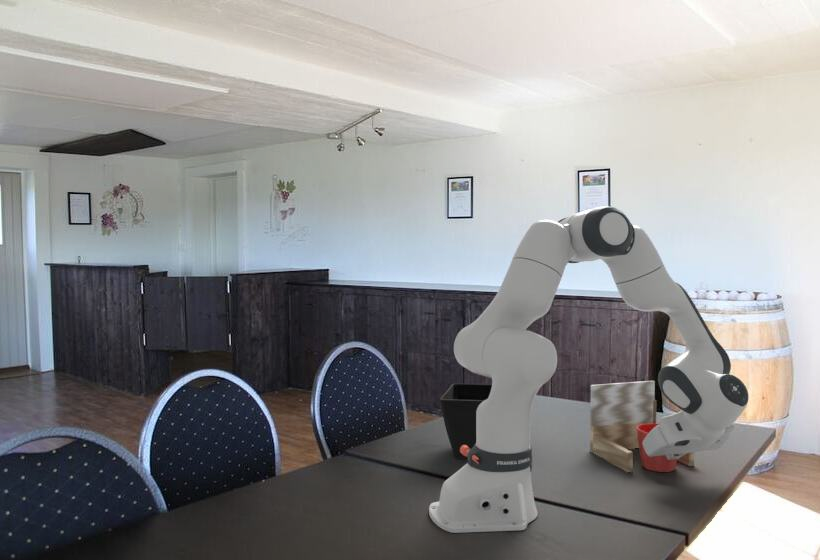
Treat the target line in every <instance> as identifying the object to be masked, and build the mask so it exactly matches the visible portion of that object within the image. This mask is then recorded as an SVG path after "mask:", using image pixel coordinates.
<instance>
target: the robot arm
mask: <svg viewBox="0 0 820 560" xmlns="http://www.w3.org/2000/svg"><path fill="white" fill-rule="evenodd" d="M597 260H601V261H603V262H604V263H605V264H606V265H607V267H608V268H609V270H610V273H611V276H612V279H613V281H614V284H615V286H616V288H617V290H618V293H619V295H620V297H621V298H622V300H623V302H624V303H625V304H626V305H627V306H629V307H630V308H632V309H634V310H637V311H640V312H647V313H648V312H662V313H664V314H666V315H668V317H669V318H670V319H671V320H672V322H673V324H674V326H675V328H676V329H677V331H678V333H679V334H680V336H681V338H682V339H683V341H684V343H685V344H684V345H685V349H684V352H683V353H681V354H680V355H678V356H677V357H676V358H673V359H672V360H671V361H669V363H667V364H666V365H665V366H663V367H662V368H661V369H660V370H659V372H658V374H657V375H658V376H657V381H658V382H657V383H658V386H659V389H660V391H661V393H662V394H663V396H664V397H665V398H666V399H667V400H668V401H669V402H670V403H671V404H673V405H674V406H675V407H677V408H679V409H680V410H681V411H678V412H677V413H674V414H669V415H666V416H663V417H660V419H659V420H658V421H657V422H658V424H659V425H658V426H656V427H655V428H653V429H652V430H651V431H650V432H649V434H648V435H647V436H646V437H645V439H644V440H643V442H642V444H643V447H644V450H645V452H646V453H647V455H648V456H650V457H652V456H661V455H666V457H667V459H668V460H671V459H679V458H680V457H681V456H683V455H685V454H687V453H691V452H694V453H699V452H708V451H717V450H719V449H721V448H723V447H724V446H725V445H726V444H727V442H728V441H729V440H730V438H731V433H732V432H733V430H735V425H734V423H735V422H736V421H737V420H738V419H739V418H740V416H741V415H742V414H743V413H744V411H745V410H746V407H747V406H748V402H749V391H748V388H747V387H746V385H745V383H744V382H743V381H742V380H741V379H740V378H739V377H737V376H736V375H733V374H730V373H731V368H732V365H731V359H730V357H729V354H728V353H727V351H726V350H725V349H724V347H723V346H722V345H721V344H720V343H719V342H718V340H717V339H716V338H715V336H714V335H713V333H712V332H711V330H710V329H709V327H708V325H707V324H706V322H705V320H704V317H702V315H701V314H700V312H699V310H698V308H697V307H696V304H695V303H694V301H693V300H692V298H691V297H690V295H689V294H688V292H687V291H686V289H685V288H684V287H683V286H682V285H681V284H680V283H678V282H676V281H675V280H673V278H672V277H671V275H670V274H669V273H668V271H667V269H666V267H665V264H664V263H663V261H662V258H661V255H660V254H659V252H658V250H657V249H656V247H655V245H654V243H653V241H652V240H651V238H650V237H649V236H648V234H647V233H646V231H645V230H644V229H643V228H642V227H640V226H638V225H633V224H632V223H631V221H630V219H629V218H628V217H627V215H626V214H625V213H624V212H623V211H622V210H620V209H618V208H616V207H613V206H608V205H607V206H603V205H602V206H597V207H593V208H592V209H591V208H590V209H587V210H581V211H578V212H575V213H573V214H571V215H569V216H567V217H564V218H561V219H560V220H558V221H554V220H550V219H541V220H538V221H536V222H534V223H532V224H531V225H530V226H529V228H528V230H527V231H526V232H525V234H524V235H523V237H522V239H521V240H520V243H519V244H518V246H517V248H516V251H515V252H514V255H513V257H512V260H511V261H510V262H511V263H510V264H509V267H508V270H507V272H506V274H505V275H504V278H503V281H502V283H501V285H500V287H499V289H498V291H497V293H496V294H495V296H494V298H492V300H491V302H490V303H489V305H488V306H486V307H485V310H483V312H482V313H481V314H480V315H479V316H478V317H477V318H476V319H475V320H474V321H473V322H472V323H470V324H469V325H466V326H465V327H463V328H462V329H461V330H460V331H458V333H457V335H456V337H455V340H454V342H453V353H454V357H455V359H456V361H457V363H458V364H459V365H460V366H462V367H463V368H465V369H466V370H468V371H470V372H471V373H473V374H475V375H479V376H483V377H486V378H490V379H491V380H492V381H491V384H492V388H491V392H490V395H489V397H488V399H486V400H484V401H483V402H482V403H481V404H480V405H479V406H478V408H477V411H476V444H475V445H474V447H473V448H472V449H470V448H469V447H468V446H467V445H462V446H461V448H460V452H461V454H463V455H464V456H466V457H467V456H468V460H467V463H466V464H464V465H463V466H462V467H461V468H460V469H457V471H456V472H455V473H453V474H452V475H451V476H450V477H448V478H447V479H446V480H445V481H443V484H442V486H441V489H440V494H439V499H438V500H439V501H435V502H431V503H430V505H429V507H428V515H429V517H430V519H431V520H432V522H433V523H434V524H435V525H436V526H437V527H438V528H441V529H442V530H443V531H446V532H449V533H452V534H453V533H455V534H458V533H460V534H461V533H462V534H463V533H482V532H483V533H485V532H486V533H487V532H488V533H489V532H507V531H508V532H510V531H513V532H515V531H524V530H526V529H527V527H528V524H529V523H531V522H533V521H534V520H536V519H537V517H538V509H537V506H536V502H535V498H534V492H533V486H532V475H531V473H532V470H533V451H532V450H533V449H532V447H533V446H532V445H531V439H530V438H531V415H532V414H531V413H532V407H533V404H534V401H535V398H536V395H537V394H538V392H539V390H540V388H541V387H542V386H543V385H545V384H546V383H547V382H549V381H550V379H551V378H552V377H553V376H554V374H555V372H556V368H557V365H558V353H557V349H556V347H555V345H554V343H553V342H552V341H551V340H550V339H548V338H546V337H545V336H543V335H540V334H538V333H536V332H533V331H531V330H529V329H528V327H530V326H531V325H532V323H534V322H535V321H536V320H539V319H540V318H542V317H543V316H545V315H547V313H548V312H549V311H550V309H551V306H552V304H553V302H554V298H555V296H556V293H557V291H558V288H559V285H560V283H561V281H562V277H563V276H564V272H565V269H566V267H567V265H568V264H579V263H581V262H583V263H584V262H594V261H597ZM527 329H528V330H527Z"/></svg>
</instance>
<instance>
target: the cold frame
mask: <svg viewBox="0 0 820 560" xmlns="http://www.w3.org/2000/svg"><path fill="white" fill-rule="evenodd" d="M655 384H656V381H655V380H644V381H629V382H628V381H627V382H615V383H602V384H590V422H589V423H590V426H589V427H590V429H589V431H590V433H589V439H590V441H589V447H590V448H589V452H590V451H592V452H593V453H592V452H591V453H592V454H594V453H595V454H596V455H595V454H594V455H595V456H597V455H598V456H597V457H599V456H600V457H599V458H601V457H602V458H604V459H605V460H604V459H603V460H604V461H606V460H607V461H606V462H608V463H609V462H610V463H609V464H611V463H612V464H611V465H613V466H614V465H615V467H616V466H617V467H616V468H618V467H619V468H618V469H620V468H621V469H622V471H623V470H624V471H623V472H625V471H626V472H625V473H627V472H631V473H634V471H633V468H634V466H633V464H634V463H633V462H634V461H633V460H634V452H633V451H632V450H636V449H635V448H639V442H638V435H637V426H639V425H641V424H657V402H658V401H657V400H656V399H655V390H656V389H655V388H656V387H655V386H656V385H655ZM628 449H630V450H628ZM602 458H601V459H602ZM677 462H679V463H682V464H683V465H686V466H688V467H693V466H694V467H695V452H691V453H687V454H685V455H683V456H681V457H680V458H679V459H677ZM621 469H620V470H621Z"/></svg>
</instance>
